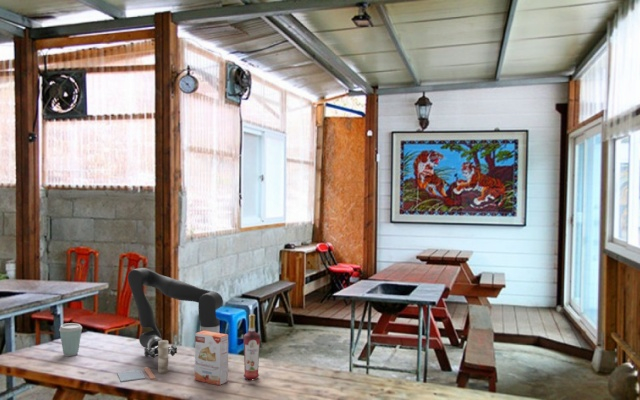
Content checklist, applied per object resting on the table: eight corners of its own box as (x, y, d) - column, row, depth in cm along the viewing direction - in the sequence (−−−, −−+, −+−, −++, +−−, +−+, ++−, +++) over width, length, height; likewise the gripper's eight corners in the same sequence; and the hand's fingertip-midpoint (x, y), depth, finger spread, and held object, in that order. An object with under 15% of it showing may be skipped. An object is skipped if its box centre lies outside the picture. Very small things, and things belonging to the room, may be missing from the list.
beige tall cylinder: (166, 369, 246) (167, 339, 246) (168, 372, 242) (169, 341, 242) (157, 371, 244) (157, 340, 244) (159, 373, 240) (159, 342, 240)
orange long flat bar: (148, 368, 248) (148, 367, 248) (155, 378, 233) (155, 377, 233) (144, 369, 247) (144, 367, 247) (150, 379, 232) (150, 378, 232)
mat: (140, 370, 244) (140, 369, 244) (144, 378, 233) (144, 377, 233) (117, 373, 239) (117, 372, 239) (120, 382, 229) (120, 380, 229)
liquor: (244, 381, 231) (244, 317, 231) (241, 376, 238) (242, 313, 238) (260, 380, 233) (261, 316, 233) (258, 375, 240) (258, 313, 240)
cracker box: (193, 380, 232) (194, 332, 232) (203, 376, 237) (203, 329, 237) (219, 386, 225) (220, 336, 225) (228, 382, 230) (228, 333, 230)
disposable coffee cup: (86, 351, 273) (86, 322, 273) (74, 358, 262) (74, 327, 263) (66, 351, 274) (67, 322, 274) (54, 357, 264) (54, 326, 264)
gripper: (141, 339, 253) (147, 348, 239) (171, 336, 260) (179, 344, 245) (141, 355, 253) (147, 365, 239) (171, 352, 260) (179, 361, 245)
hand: (163, 354), depth 242 cm, fingers open, 8 cm apart
